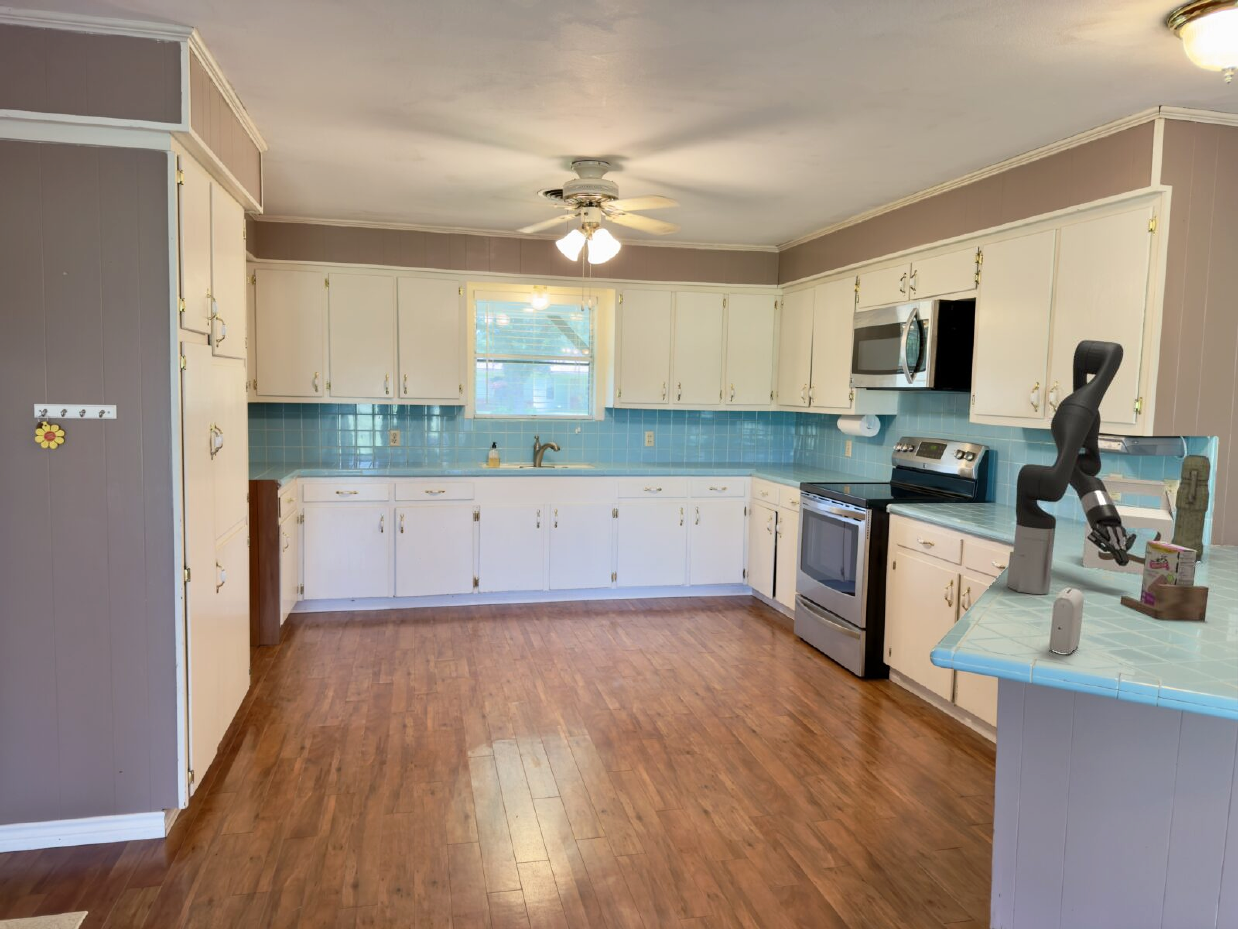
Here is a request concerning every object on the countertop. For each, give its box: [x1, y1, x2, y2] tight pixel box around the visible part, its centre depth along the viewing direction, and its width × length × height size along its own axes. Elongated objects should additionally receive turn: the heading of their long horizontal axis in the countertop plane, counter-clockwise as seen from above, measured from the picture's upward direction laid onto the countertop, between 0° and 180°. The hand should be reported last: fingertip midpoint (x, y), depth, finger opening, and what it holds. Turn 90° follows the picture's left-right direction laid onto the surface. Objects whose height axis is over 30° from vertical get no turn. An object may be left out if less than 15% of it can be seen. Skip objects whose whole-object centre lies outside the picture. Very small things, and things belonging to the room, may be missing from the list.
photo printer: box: [1048, 587, 1085, 655], centre depth 164 cm, size 10×4×12 cm, turn 140°
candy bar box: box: [1139, 540, 1197, 607], centre depth 199 cm, size 11×5×16 cm, turn 4°
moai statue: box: [1171, 454, 1211, 562], centre depth 268 cm, size 9×12×35 cm
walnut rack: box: [1120, 584, 1210, 622], centre depth 198 cm, size 12×14×8 cm
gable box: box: [1082, 476, 1175, 576], centre depth 249 cm, size 22×13×28 cm, turn 60°
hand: (1124, 564), depth 212 cm, fingers closed
